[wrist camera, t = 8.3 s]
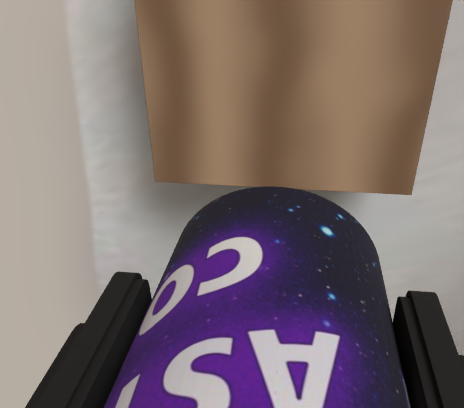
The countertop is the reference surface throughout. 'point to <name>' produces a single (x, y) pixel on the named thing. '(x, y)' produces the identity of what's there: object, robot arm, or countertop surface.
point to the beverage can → (267, 313)
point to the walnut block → (290, 90)
